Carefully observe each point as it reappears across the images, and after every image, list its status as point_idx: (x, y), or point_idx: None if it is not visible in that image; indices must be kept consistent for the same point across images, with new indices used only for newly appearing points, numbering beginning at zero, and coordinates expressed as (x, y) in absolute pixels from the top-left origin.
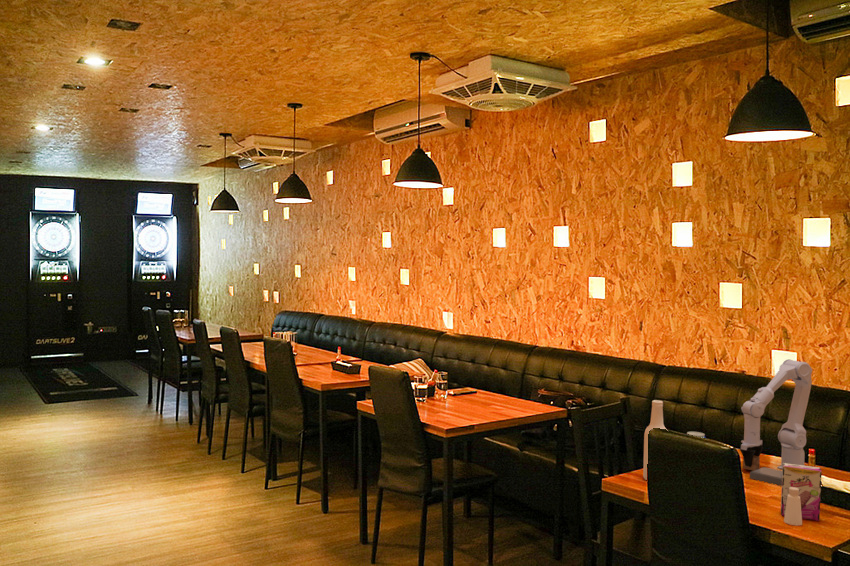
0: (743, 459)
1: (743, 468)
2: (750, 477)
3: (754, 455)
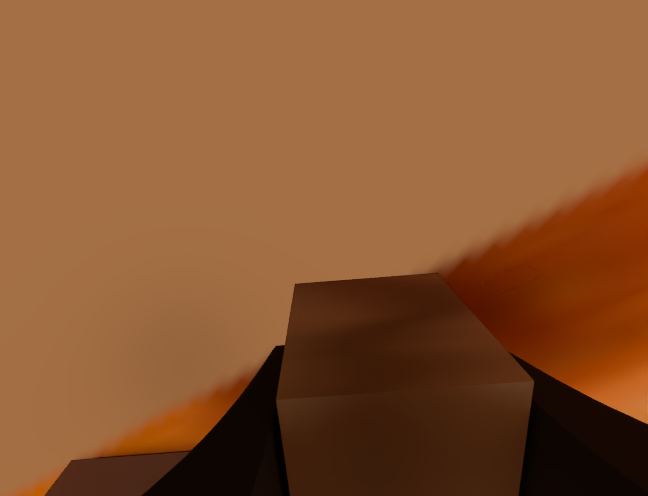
0: (286, 356)
1: (294, 291)
2: (64, 477)
3: (531, 479)
